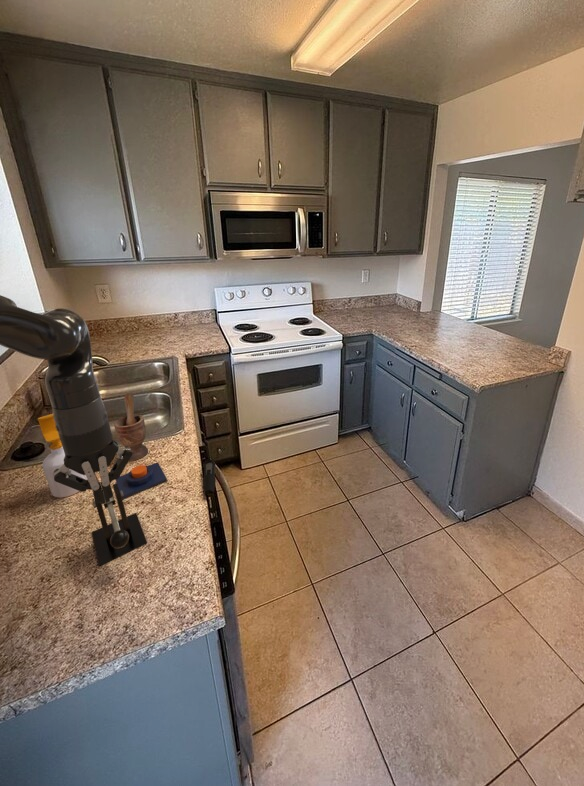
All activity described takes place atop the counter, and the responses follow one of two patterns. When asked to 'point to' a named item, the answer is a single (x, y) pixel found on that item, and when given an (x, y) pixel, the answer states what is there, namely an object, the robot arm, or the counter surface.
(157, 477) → the control block
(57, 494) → the soap bottle
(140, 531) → the switch bracket
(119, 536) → the switch lever
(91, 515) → the counter surface
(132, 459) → the mortar and pestle
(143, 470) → the button
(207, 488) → the electric trimmer
